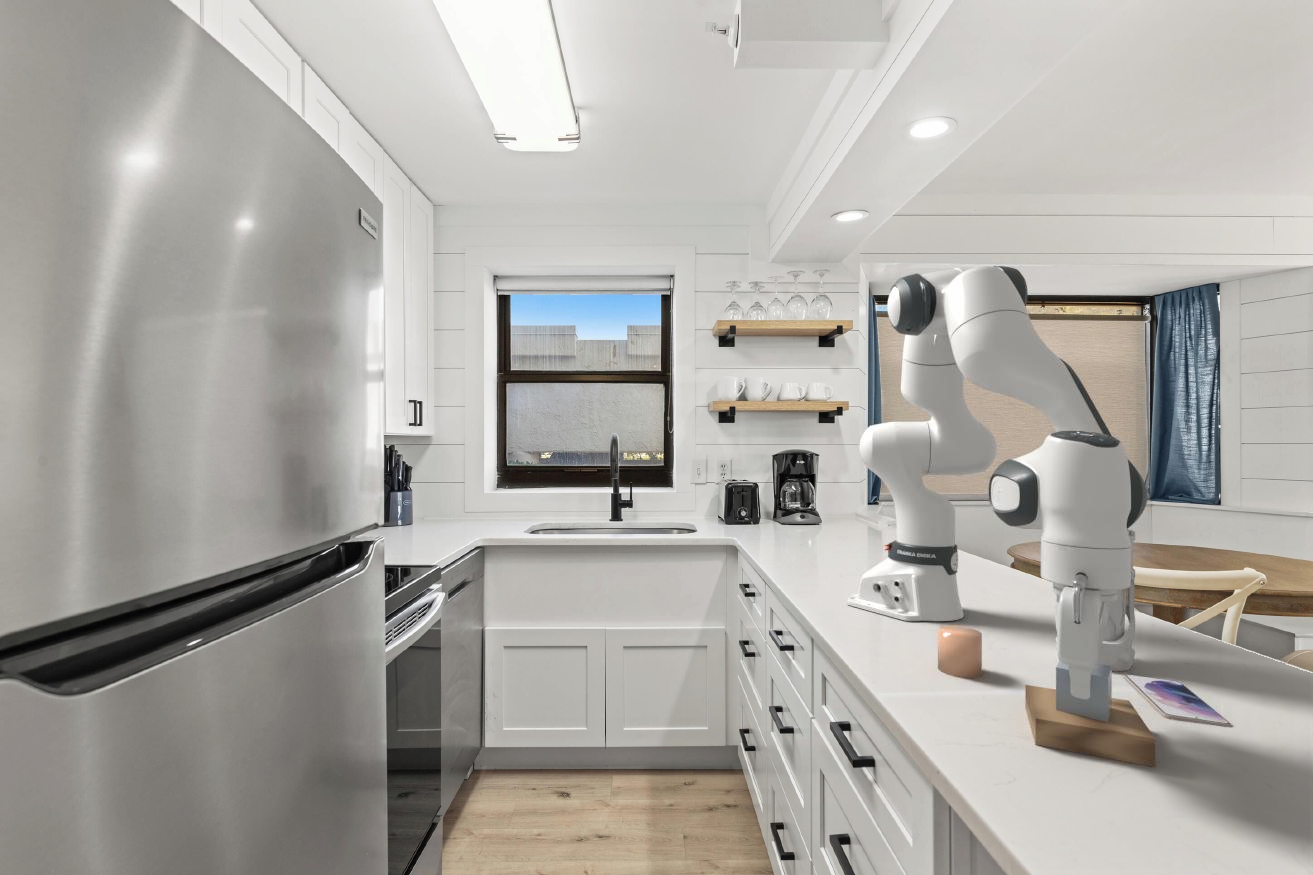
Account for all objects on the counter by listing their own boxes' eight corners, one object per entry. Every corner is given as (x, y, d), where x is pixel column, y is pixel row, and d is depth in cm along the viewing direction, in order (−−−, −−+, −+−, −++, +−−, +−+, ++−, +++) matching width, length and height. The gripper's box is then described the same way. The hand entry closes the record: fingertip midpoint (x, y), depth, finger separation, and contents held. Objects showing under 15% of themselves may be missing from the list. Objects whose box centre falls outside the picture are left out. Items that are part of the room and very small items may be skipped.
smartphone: (1180, 681, 90) (1234, 725, 76) (1180, 686, 90) (1234, 732, 76) (1121, 673, 92) (1163, 714, 78) (1121, 678, 92) (1163, 720, 78)
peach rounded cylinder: (931, 670, 94) (931, 630, 94) (946, 660, 98) (946, 623, 98) (973, 681, 90) (973, 640, 90) (987, 671, 94) (987, 631, 94)
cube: (1055, 709, 73) (1056, 667, 73) (1061, 696, 77) (1062, 656, 77) (1108, 722, 70) (1108, 677, 70) (1111, 707, 74) (1111, 665, 74)
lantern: (1135, 677, 92) (1136, 508, 92) (1052, 661, 98) (1053, 504, 98) (1134, 653, 102) (1134, 502, 103) (1059, 641, 109) (1059, 498, 109)
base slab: (1035, 744, 71) (1035, 718, 71) (1025, 707, 81) (1025, 684, 81) (1155, 766, 66) (1155, 738, 66) (1129, 724, 76) (1129, 700, 76)
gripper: (1114, 586, 64) (1113, 721, 64) (1119, 558, 80) (1119, 665, 80) (1042, 578, 68) (1041, 705, 67) (1061, 552, 84) (1060, 655, 84)
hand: (1083, 683), depth 74 cm, fingers open, 8 cm apart
